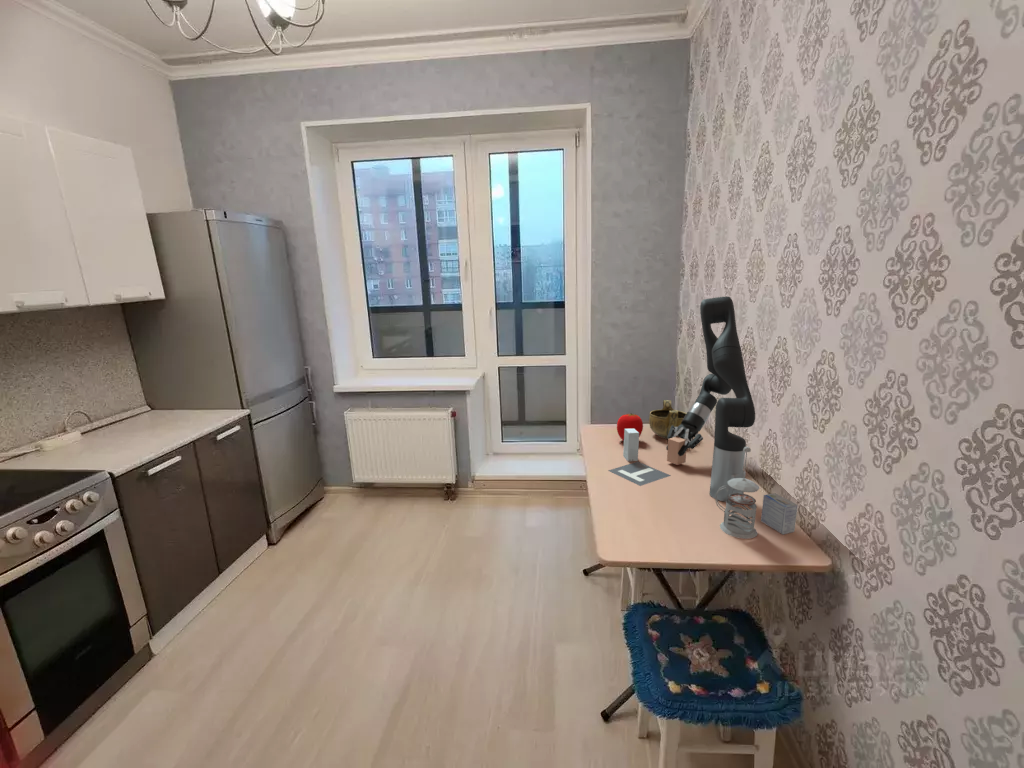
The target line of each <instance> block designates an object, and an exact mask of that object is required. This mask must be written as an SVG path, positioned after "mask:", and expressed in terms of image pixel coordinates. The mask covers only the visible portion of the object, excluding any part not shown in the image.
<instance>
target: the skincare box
mask: <svg viewBox="0 0 1024 768" xmlns="http://www.w3.org/2000/svg"><path fill="white" fill-rule="evenodd" d="M639 445H640V437H639V432H638V431H636V430H635V429H634V428H633V429H625V430H624V441H623V452H622V456H623V458H624V459H625V460H626V461H627V462H639V447H640V446H639Z"/></svg>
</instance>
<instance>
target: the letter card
mask: <svg viewBox="0 0 1024 768" xmlns="http://www.w3.org/2000/svg"><path fill="white" fill-rule="evenodd" d="M607 471H608V472H610V473H611V474H614V475H616V476H618V477H620V478H623V479H624V480H626V481H629V482H631V483H633V484H636V485H637V486H640V487H641V486H645V485H648V484H651V483H654V482H657V481H659V480H662V479H665V478H669V477H671V476H672V475H671V474H668V473H666V472H664V471H661V470H659V469H657V468H655V467H651V466H649V465H647V464H645V463H642V462H641V461H634V462H631V463H628V464H626V465H622V466H619V467H615V468H612V469H608V470H607Z"/></svg>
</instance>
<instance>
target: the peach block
mask: <svg viewBox="0 0 1024 768" xmlns="http://www.w3.org/2000/svg"><path fill="white" fill-rule="evenodd" d="M684 442H685V440H684V439H683V438H680V437H673V438H670V439H668V441H667V445H668V451H666V452H667V458H666V461H667V462H668V463H672V464H674V465H676V466H678V465H681V464H685V463H686V461H687V460H686V459H687V451H686V452H685V453H684V455H682V456H679V454H678V452H679V450H680V449H681V447H682V445H684Z"/></svg>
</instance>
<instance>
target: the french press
mask: <svg viewBox="0 0 1024 768" xmlns="http://www.w3.org/2000/svg"><path fill="white" fill-rule="evenodd" d="M743 451H745V458H744V468H743V471H744V477H745V478H734V479H731V480H729V481H728V485H729V486H730V487H731V488H733V489H735V490H738V491H742V493H731V494H729V495H728V499H727V501H726V502H725V504H726V505H725V507H723V506H722V505H721V504H720V503H719V500H717V494H718V492H719V491H720V490H722V489H725V488H726V487H725V486H727V485H725V486H722V487H725V488H722V487H720V488H719V489H718V491H717V493H716V499H715V504H716V506H717V507H718V509H719V510H721V511H722V512H723V513H724V515H723V521H722V522H721V524H719V528H720V529H721V531H722V532H723V533H724V534H727V535H728V536H731V537H734V538H737V539H738V538H739V539H743V540H746V539H748V540H749V539H753V538H756V537H757V536H758V535H759V534H758V530H757V529H756V528H755V523H756V516H757V515H756V514H757V504H756V502H757V500H756V499H755V498H754V497H753V496H752V495H749V494H746V493H757V492H758V491H759V489H760V485H758V484H757V483H756V482H754V481H753V480H751V479H748V478H746V476H745V472H746V466H747V456H748V453H751V451H752V449H751V448H750V447H749V446H746V447H744V449H743ZM721 488H722V489H721ZM726 489H727V492H728V486H727V488H726ZM743 492H744V494H743ZM731 502H734V503H731ZM742 507H743V508H742ZM748 507H749V508H750V509H749V508H748Z"/></svg>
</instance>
